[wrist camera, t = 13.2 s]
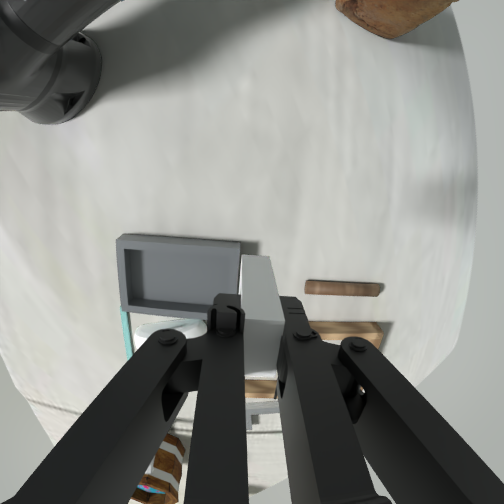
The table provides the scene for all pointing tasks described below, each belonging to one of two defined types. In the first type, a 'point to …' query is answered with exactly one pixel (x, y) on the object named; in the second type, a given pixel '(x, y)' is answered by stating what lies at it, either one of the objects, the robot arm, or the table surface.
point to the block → (391, 14)
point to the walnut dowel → (341, 288)
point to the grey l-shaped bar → (260, 410)
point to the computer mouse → (186, 326)
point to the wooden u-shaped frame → (326, 332)
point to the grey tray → (174, 274)
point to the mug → (162, 474)
